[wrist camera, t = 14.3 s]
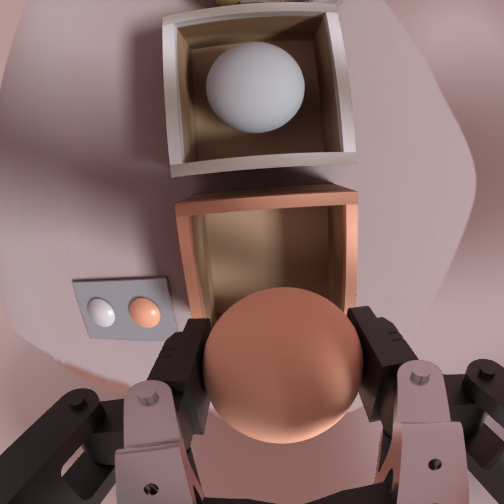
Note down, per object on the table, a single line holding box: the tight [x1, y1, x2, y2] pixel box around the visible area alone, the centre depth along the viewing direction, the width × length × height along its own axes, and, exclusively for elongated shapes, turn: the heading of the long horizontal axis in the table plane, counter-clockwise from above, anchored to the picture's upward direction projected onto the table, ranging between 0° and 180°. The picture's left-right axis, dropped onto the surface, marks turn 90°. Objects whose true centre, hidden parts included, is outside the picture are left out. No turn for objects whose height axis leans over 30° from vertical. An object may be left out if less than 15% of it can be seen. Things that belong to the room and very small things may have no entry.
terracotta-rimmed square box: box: [174, 184, 358, 329], centre depth 17 cm, size 9×9×5 cm
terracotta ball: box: [202, 287, 364, 443], centre depth 9 cm, size 5×5×5 cm
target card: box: [73, 277, 178, 341], centre depth 21 cm, size 5×8×1 cm, turn 95°
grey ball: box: [206, 42, 305, 133], centre depth 14 cm, size 5×5×5 cm
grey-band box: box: [162, 2, 357, 178], centre depth 14 cm, size 9×9×5 cm
